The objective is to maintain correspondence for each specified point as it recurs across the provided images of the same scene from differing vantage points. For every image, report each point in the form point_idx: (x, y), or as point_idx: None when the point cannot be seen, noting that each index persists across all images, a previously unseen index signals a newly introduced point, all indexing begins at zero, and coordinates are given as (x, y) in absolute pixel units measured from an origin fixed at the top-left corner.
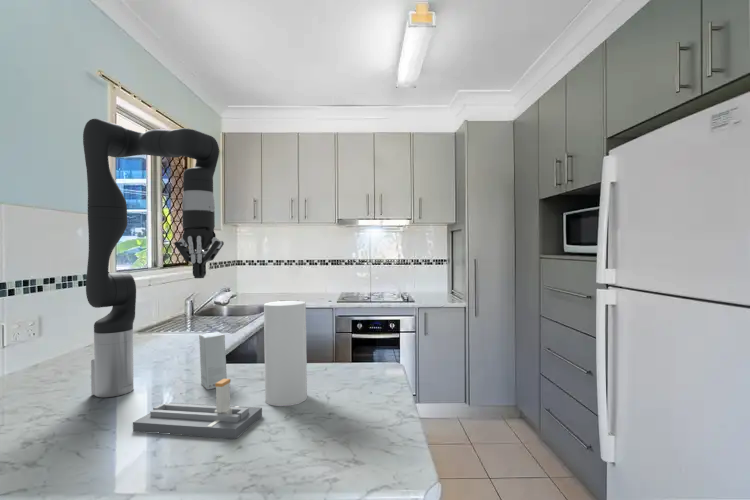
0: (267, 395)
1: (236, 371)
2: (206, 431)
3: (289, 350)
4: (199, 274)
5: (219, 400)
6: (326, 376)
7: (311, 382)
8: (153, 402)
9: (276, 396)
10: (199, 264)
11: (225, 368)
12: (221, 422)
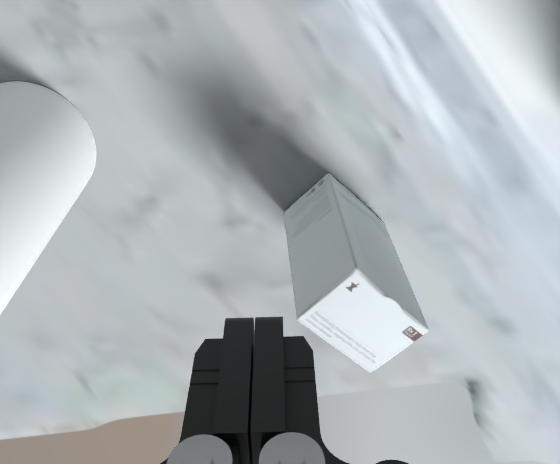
0: (49, 102)
1: None
2: None
3: None
4: (223, 339)
5: None
6: (41, 329)
7: (51, 279)
8: (439, 41)
9: (5, 89)
10: (214, 430)
11: (288, 240)
12: None
